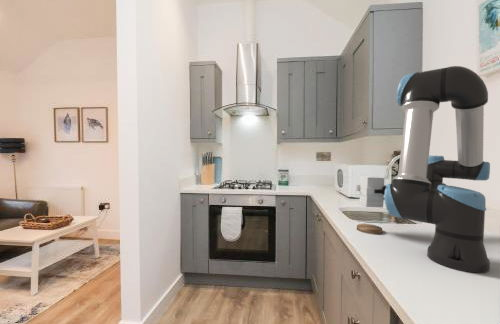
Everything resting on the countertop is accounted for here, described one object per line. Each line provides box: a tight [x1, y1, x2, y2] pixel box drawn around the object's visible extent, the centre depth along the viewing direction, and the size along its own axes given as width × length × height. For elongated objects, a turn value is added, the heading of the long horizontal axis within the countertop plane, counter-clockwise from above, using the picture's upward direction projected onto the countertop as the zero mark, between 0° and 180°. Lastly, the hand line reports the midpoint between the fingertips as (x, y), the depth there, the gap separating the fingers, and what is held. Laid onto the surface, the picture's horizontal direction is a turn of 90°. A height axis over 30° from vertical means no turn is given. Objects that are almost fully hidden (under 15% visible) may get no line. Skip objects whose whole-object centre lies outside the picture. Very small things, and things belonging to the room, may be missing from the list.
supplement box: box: [358, 175, 386, 209], centre depth 110 cm, size 7×7×13 cm
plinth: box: [356, 223, 383, 235], centre depth 110 cm, size 10×10×2 cm
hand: (360, 189), depth 109 cm, fingers closed on supplement box, 8 cm apart
